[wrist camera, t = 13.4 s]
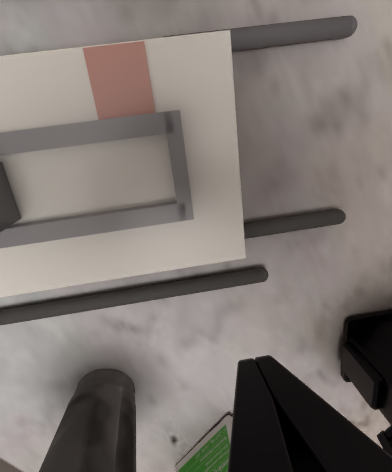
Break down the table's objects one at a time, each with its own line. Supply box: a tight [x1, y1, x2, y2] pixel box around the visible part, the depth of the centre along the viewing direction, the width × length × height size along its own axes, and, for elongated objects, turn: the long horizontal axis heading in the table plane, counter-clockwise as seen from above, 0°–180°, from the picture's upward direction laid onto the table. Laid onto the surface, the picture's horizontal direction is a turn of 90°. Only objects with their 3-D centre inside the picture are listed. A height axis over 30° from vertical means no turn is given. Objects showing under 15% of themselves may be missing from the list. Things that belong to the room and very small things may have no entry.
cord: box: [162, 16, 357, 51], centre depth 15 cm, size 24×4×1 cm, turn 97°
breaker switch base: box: [0, 30, 246, 297], centre depth 16 cm, size 19×12×3 cm, turn 97°
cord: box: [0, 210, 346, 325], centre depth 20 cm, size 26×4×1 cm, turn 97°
